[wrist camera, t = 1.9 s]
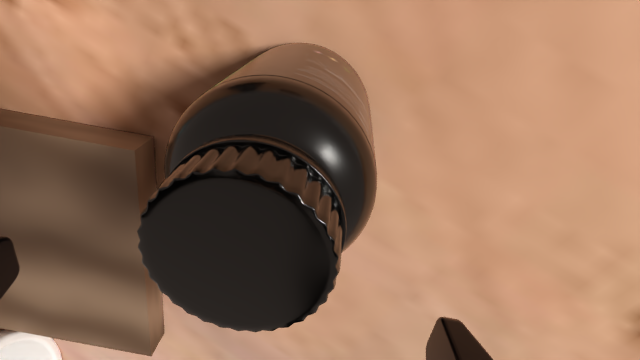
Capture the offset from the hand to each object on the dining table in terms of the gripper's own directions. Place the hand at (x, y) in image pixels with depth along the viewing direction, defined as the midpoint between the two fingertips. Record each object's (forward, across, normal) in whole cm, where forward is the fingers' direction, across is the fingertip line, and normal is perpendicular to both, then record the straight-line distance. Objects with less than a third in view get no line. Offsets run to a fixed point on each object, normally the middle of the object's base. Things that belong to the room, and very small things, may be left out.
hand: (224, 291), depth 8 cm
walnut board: (+13, +16, +11) cm, 23 cm away
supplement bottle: (+13, 0, 0) cm, 13 cm away
